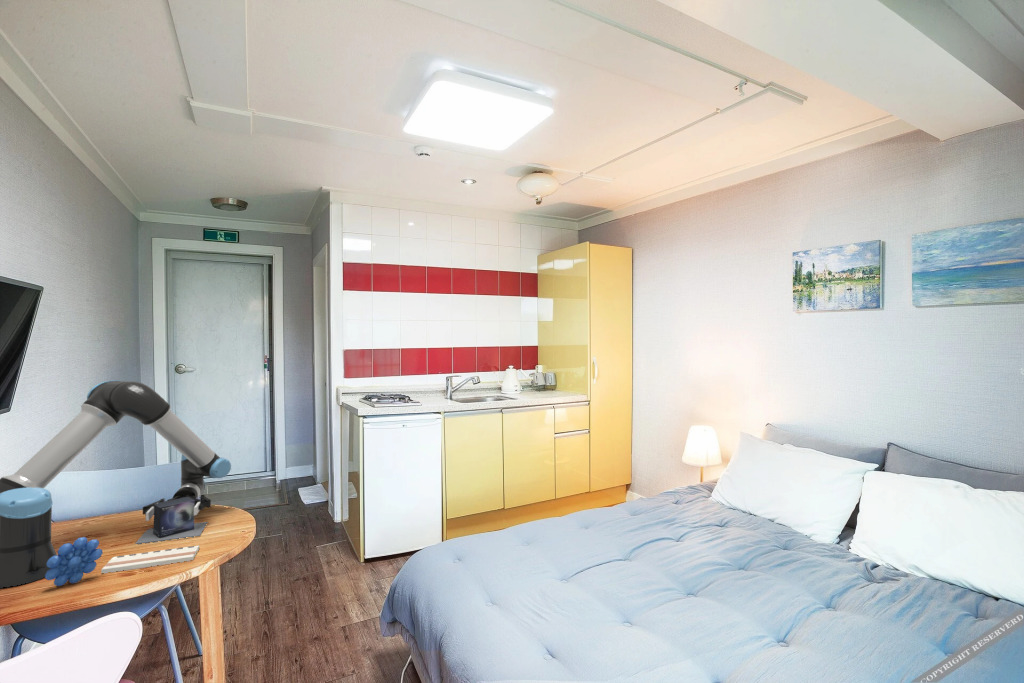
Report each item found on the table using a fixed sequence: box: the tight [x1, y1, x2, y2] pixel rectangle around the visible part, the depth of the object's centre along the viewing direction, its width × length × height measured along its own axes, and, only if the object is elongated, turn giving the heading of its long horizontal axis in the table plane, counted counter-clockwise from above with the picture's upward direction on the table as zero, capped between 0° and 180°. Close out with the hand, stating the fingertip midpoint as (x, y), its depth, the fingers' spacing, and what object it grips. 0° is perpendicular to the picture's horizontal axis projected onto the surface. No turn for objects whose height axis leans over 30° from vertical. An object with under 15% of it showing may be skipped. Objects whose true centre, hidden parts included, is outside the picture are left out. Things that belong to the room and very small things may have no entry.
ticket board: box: [100, 545, 200, 574], centre depth 145 cm, size 22×9×1 cm, turn 113°
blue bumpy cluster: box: [44, 536, 104, 587], centre depth 132 cm, size 12×7×12 cm, turn 137°
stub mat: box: [134, 521, 209, 545], centre depth 167 cm, size 18×14×1 cm
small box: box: [153, 497, 195, 538], centre depth 167 cm, size 11×6×10 cm, turn 143°
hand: (171, 514), depth 164 cm, fingers open, 13 cm apart
